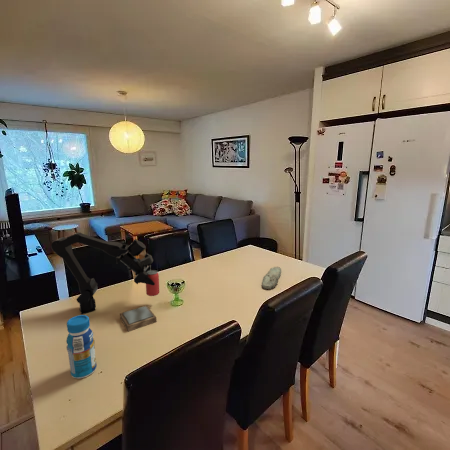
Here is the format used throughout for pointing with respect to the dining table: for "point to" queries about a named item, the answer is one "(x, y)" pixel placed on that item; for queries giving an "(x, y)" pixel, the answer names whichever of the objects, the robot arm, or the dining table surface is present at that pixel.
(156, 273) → the beer can
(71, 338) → the beverage bottle
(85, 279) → the robot arm
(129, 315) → the walnut stand
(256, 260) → the dining table surface
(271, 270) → the long grey stone
